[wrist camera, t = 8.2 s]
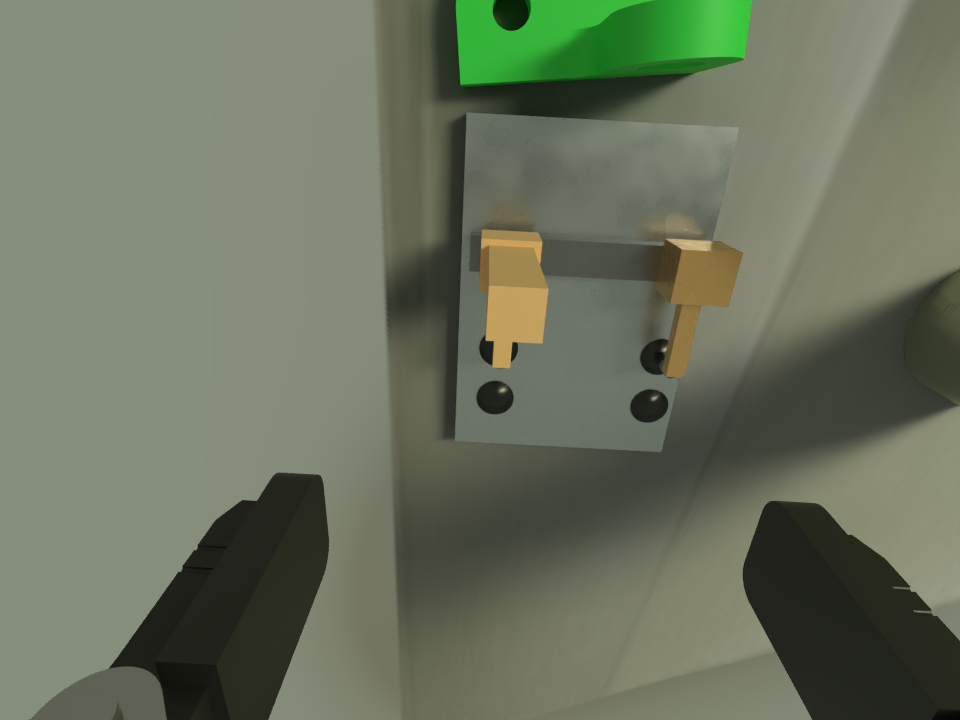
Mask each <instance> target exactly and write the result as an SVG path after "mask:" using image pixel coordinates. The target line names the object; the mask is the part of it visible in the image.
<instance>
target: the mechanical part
mask: <svg viewBox="0 0 960 720" xmlns="http://www.w3.org/2000/svg"><path fill="white" fill-rule="evenodd" d="M497 1H498V0H456V19H457V36H458V52H459V68H460V85H461V86H462V87H474V86H490V85H506V84H523V83H539V82H555V81H571V80H587V79H604V78H620V77H636V76H652V75H668V74H685V73H696V72H700V71H704V70H708V69H712V68H716V67H720V66H723V65H727V64H731V63H735V62H739V61H742V60H744V56H745V49H746V42H747V35H748V28H749V21H750V14H751V6H752V0H524V1H525V3H526V5H527V8H528V21H527V22H526V24H525V25H524V26H523V27H522V28H520V29H518V30H515V31H507V30H505V29H503V28H501V27H500V26H499V25H498V24H497V23H496V21H495V19H494V16H493V8H494V6H495V4H496V2H497Z"/></svg>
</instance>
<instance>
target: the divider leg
mask: <svg viewBox="0 0 960 720" xmlns="http://www.w3.org/2000/svg"><path fill="white" fill-rule="evenodd" d="M541 251H542V240H541V238H540V235H539V233H538V232H520V231H502V230H483V229H482V238H481V258H480V277H479V293H482V294H487V300H486V341H494V346H493V361H492V364H493V367H495V368H497V369H500V370H502V369H505V368H510V364H511V352H512V342H521V343H539V344H542V343H543V333H544V324H545V315H546V306H547V297H548V286H547V283H546V281H545V278H544V275H543V272H542V269H541V266H540V261H541Z"/></svg>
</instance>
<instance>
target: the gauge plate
mask: <svg viewBox="0 0 960 720" xmlns="http://www.w3.org/2000/svg"><path fill="white" fill-rule="evenodd" d="M738 132H739V128H735V127H717V126H700V125H682V124H664V123H646V122H628V121H611V120H593V119H575V118H557V117H540V116H522V115H504V114H486V113H468V112H467V116H466V144H465V172H464V199H463V227H462V255H461V283H460V311H459V338H458V366H457V394H456V422H455V441H461V442H480V443H499V444H518V445H537V446H556V447H574V448H593V449H612V450H631V451H650V452H662V448H663V444H664V439H665V435H666V431H667V427H668V423H669V419H670V415H671V410H672V406H673V402H674V398H675V394H676V390H677V385H678V381H679V377H681V378H684V374H685V370H686V366H687V361H688V357H689V353H690V349H691V345H692V341H693V337H694V333H695V329H696V325H697V321H698V316H699V312H700V308H701V305H702V306H721V307H728V306H729V303H730V299H731V295H732V291H733V288H734V284H735V280H736V277H737V273H738V269H739V265H740V262H741V258H742V254H743V253H742V252H740V251H738V250H736V249H734V248H732V247H730V246H728V245H726V244H724V243H722V242H720V241H712V240H713V236H714V232H715V227H716V223H717V219H718V215H719V211H720V207H721V203H722V198H723V194H724V190H725V186H726V182H727V178H728V173H729V169H730V165H731V161H732V157H733V153H734V149H735V144H736V140H737V136H738ZM482 229H483V230H502V231H520V232H538V233H539V235H540V238H541V240H542V251H541V261H540V266H541V269H542V272H543V275H544V278H545V281H546V283H547V286H548V297H547V306H546V315H545V324H544V333H543V343H542V344H539V343H521V342H512V352H511V364H510V368H505V369H502V370H500V369H497V368H495V367H493V364H492V361H493V346H494V341H486V300H487V294H482V293H479V277H480V258H481V238H482Z"/></svg>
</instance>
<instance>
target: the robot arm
mask: <svg viewBox="0 0 960 720" xmlns="http://www.w3.org/2000/svg"><path fill="white" fill-rule="evenodd" d="M904 357H905V360H906V363H907V366H908V369H909V370H910V372H911V373H912V374H913V376H914V377H915V378H916V379H917V380H918V381H920V382H921V383H922V384H924V385H925V386H927V387H929V388H930V389H932V390H934V391H935V392H937V393H939V394H940V395H942V396H944V397H945V398H947V399H949V400H950V401H952V402H954V403H955V404H957V405H959V406H960V270H959V271H957V272H955V273H954V274H952V275H950V276H949V277H948V278H947V279H945V280H944V281H943V282H942V283H940V284H939V285H938V286H937V287H935V288H934V290H933V291H932V292H931V293H930V294H929V295H928V296H927V297H926V298H925V299H924V300H923V301H922V303H921V304H920V306H919V307H918V309H917V310H916V312H915V313H914V315H913V317H912V319H911V321H910V324H909V326H908V328H907V331H906V336H905V341H904ZM328 551H329V536H328V526H327V516H326V506H325V496H324V486H323V481H322V478H321V476H320V475H313V474H295V473H276V474H275V475H274V476H273V477H272V478H271V480H270V482H269V483H268V485H267V486H266V488H265V489H264V491H263V492H262V494H261V496H260V497H259V499H258V500H257V501H246V500H242V501H241V502H239V503H238V504H236V505H235V506H234V507H233V508H231V509H230V510H228V511H227V512H226V513H225V514H223V515H222V516H221V517H220V518H218V519H217V520H216V521H215V522H214V523H213V524H212V526H211V527H210V529H209V530H208V532H207V533H206V534H205V536H204V537H203V539H202V540H201V541H200V543H199V544H198V548H197V550H194V551H193V553H192V554H191V555H190V557H189V558H188V560H187V561H186V562H185V564H184V565H183V569H182V571H181V572H178V573H177V575H176V576H175V578H174V579H173V581H172V582H171V583H170V585H169V586H168V587H167V589H166V590H165V592H164V593H163V594H162V596H161V597H160V599H159V600H158V601H157V603H156V604H155V606H154V607H153V608H152V610H151V611H150V613H149V614H148V615H147V617H146V619H145V620H144V621H143V623H142V624H141V625H140V627H139V628H138V630H137V631H136V632H135V634H134V635H133V637H132V638H131V639H130V641H129V642H128V644H127V645H126V646H125V648H124V649H123V650H122V652H121V653H120V655H119V656H118V657H117V659H116V660H115V661H114V663H113V664H112V665H111V666H110V668H109V669H106V670H103V671H100V672H97V673H94V674H92V675H89V676H87V677H85V678H83V679H81V680H79V681H77V682H75V683H74V684H72V685H71V686H69V687H67V688H66V689H64V690H63V691H61V692H60V693H59V694H57V695H56V696H55V697H53V698H52V699H51V700H50V701H49V702H48V703H46V704H45V705H44V706H43V707H42V708H41V709H40V710H39V711H38V712H37V713H36V714H35V715H34V716H33V717H32V718H31V719H30V720H268V719H269V716H270V714H271V711H272V708H273V706H274V703H275V701H276V698H277V695H278V693H279V690H280V688H281V685H282V682H283V680H284V677H285V674H286V672H287V669H288V667H289V664H290V661H291V658H292V656H293V654H294V651H295V649H296V646H297V643H298V641H299V638H300V635H301V633H302V630H303V628H304V625H305V622H306V620H307V617H308V615H309V612H310V609H311V607H312V604H313V602H314V599H315V596H316V594H317V591H318V589H319V586H320V583H321V581H322V578H323V575H324V572H325V569H326V564H327V559H328ZM743 583H744V589H745V592H746V595H747V598H748V600H749V603H750V604H751V606H752V608H753V610H754V612H755V614H756V616H757V617H758V619H759V621H760V623H761V625H762V627H763V629H764V630H765V632H766V634H767V636H768V638H769V640H770V642H771V644H772V645H773V647H774V649H775V651H776V653H777V655H778V657H779V658H780V660H781V662H782V664H783V665H784V667H785V670H786V671H787V673H788V675H789V677H790V679H791V681H792V683H793V684H794V686H795V688H796V690H797V691H798V694H799V695H800V697H801V699H802V701H803V703H804V705H805V706H806V708H807V710H808V712H809V714H810V716H811V718H812V720H960V641H959V640H958V638H957V637H956V636H955V635H954V634H953V633H952V632H951V631H950V630H949V629H948V627H946V625H945V624H944V623H943V622H942V621H941V620H940V619H939V618H938V616H933V615H932V613H931V609H930V608H929V607H928V605H927V604H926V603H925V602H924V601H923V600H922V599H921V598H920V597H919V596H918V594H917V593H916V592H911V590H910V586H909V585H908V583H907V582H906V581H905V580H904V579H903V578H902V577H901V576H900V575H899V574H898V572H897V571H896V570H895V569H894V568H893V567H892V566H891V565H890V564H889V563H888V561H887V560H886V559H885V558H883V557H882V556H881V555H879V554H878V553H876V552H875V551H874V550H872V549H871V548H869V547H868V546H867V545H865V544H864V543H862V542H861V541H860V540H858V539H857V538H855V537H854V536H853V535H847V534H846V532H845V531H844V530H843V529H842V528H841V527H840V526H839V524H838V523H837V522H836V521H835V520H834V519H833V518H832V516H831V515H830V514H829V513H828V512H827V511H826V510H825V509H824V508H823V507H822V506H821V505H819V504H816V503H803V502H784V501H770V502H768V503H767V504H766V505H765V507H764V509H763V511H762V514H761V516H760V519H759V522H758V525H757V528H756V531H755V534H754V536H753V539H752V542H751V545H750V548H749V551H748V554H747V557H746V559H745V562H744V567H743Z"/></svg>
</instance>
